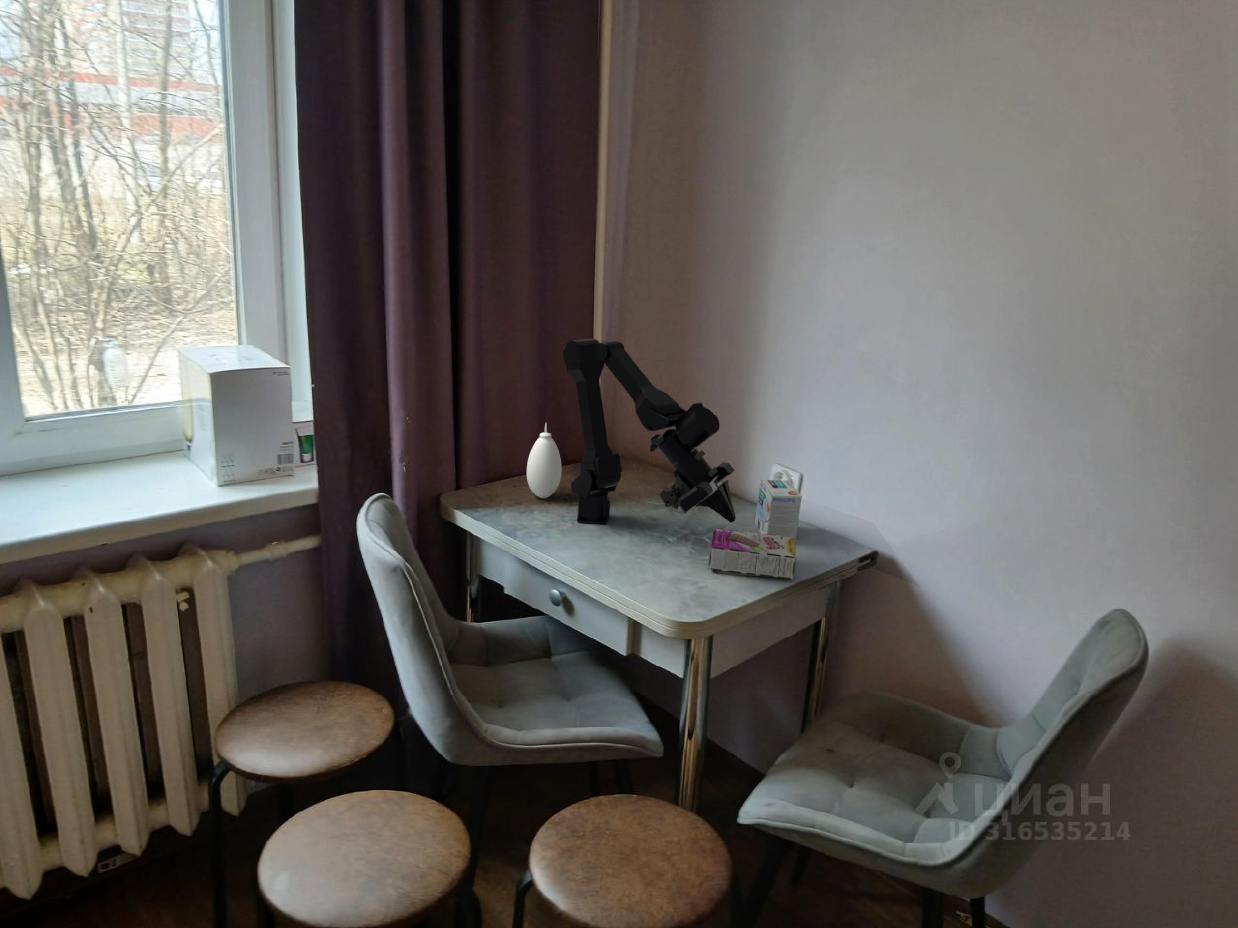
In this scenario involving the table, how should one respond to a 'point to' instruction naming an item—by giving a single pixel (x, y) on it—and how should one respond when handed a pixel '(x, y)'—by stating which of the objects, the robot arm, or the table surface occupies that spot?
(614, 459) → the robot arm
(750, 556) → the candy bar box
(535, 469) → the white air blower bulb
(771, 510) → the light bulb box
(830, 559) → the table surface
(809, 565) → the table surface
